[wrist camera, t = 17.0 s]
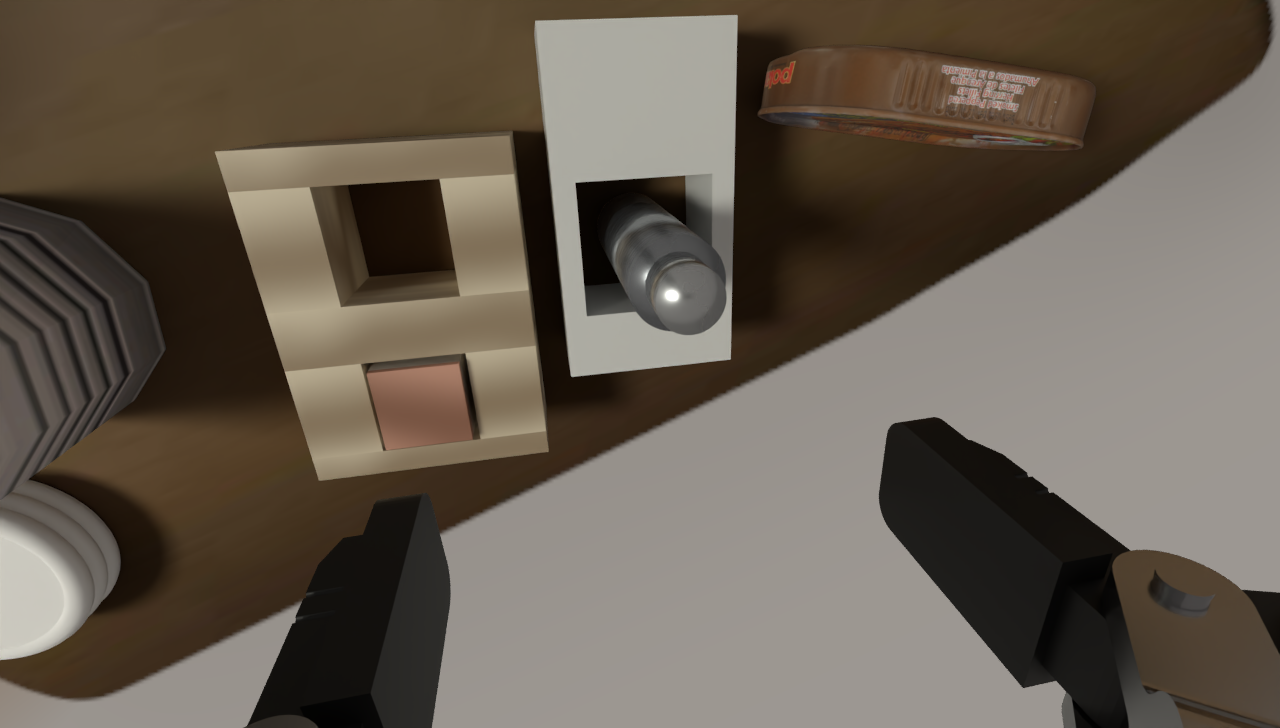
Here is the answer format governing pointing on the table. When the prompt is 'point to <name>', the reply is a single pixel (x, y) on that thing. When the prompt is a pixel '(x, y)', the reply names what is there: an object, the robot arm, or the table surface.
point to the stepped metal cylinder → (662, 265)
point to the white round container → (50, 568)
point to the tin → (927, 98)
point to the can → (65, 337)
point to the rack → (638, 162)
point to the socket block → (392, 291)
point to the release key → (423, 400)
